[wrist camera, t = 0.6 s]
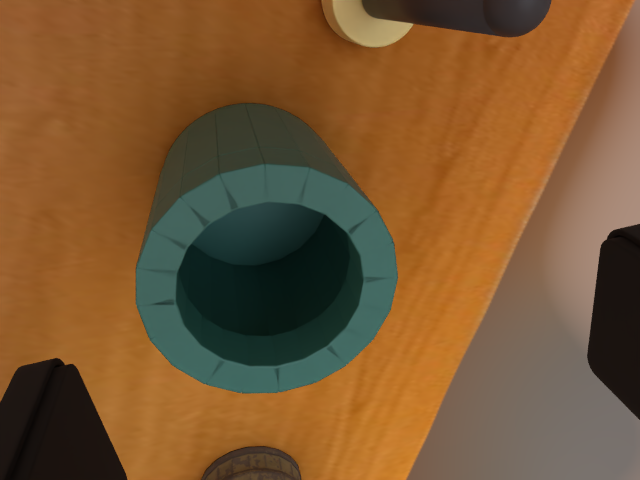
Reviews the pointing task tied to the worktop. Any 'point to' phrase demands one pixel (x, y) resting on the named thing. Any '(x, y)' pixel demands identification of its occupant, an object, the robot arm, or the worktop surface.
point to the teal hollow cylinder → (261, 255)
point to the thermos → (254, 465)
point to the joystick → (430, 17)
